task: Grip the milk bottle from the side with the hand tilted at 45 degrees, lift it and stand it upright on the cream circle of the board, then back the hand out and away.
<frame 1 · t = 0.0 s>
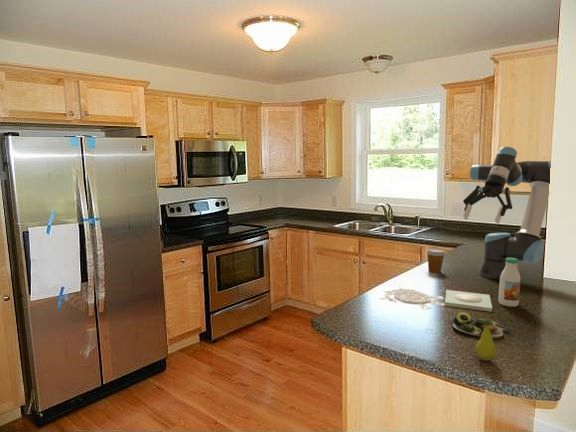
hand: (480, 220, 173), 36 cm above the worktop, tool tilted 35°, fingers open, 13 cm apart
fruit: (484, 360, 126), on the worktop
salad plate: (474, 329, 149), on the worktop
disposable coffee cup: (434, 271, 226), on the worktop
milk bottle: (508, 304, 175), on the worktop
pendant: (412, 299, 182), on the worktop
locating board: (467, 301, 177), on the worktop
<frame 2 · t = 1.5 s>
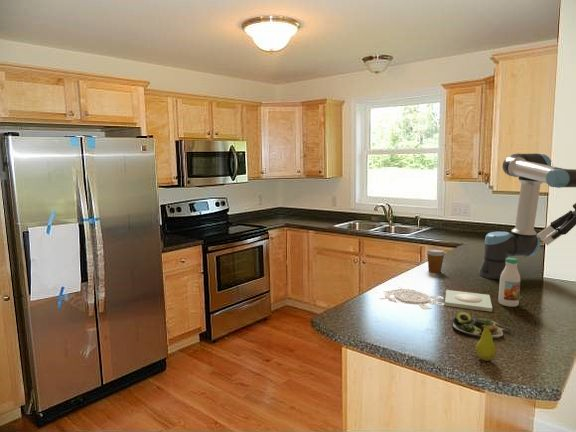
hand: (541, 240, 172), 28 cm above the worktop, tool tilted 45°, fingers open, 13 cm apart
nothing on the worktop moved.
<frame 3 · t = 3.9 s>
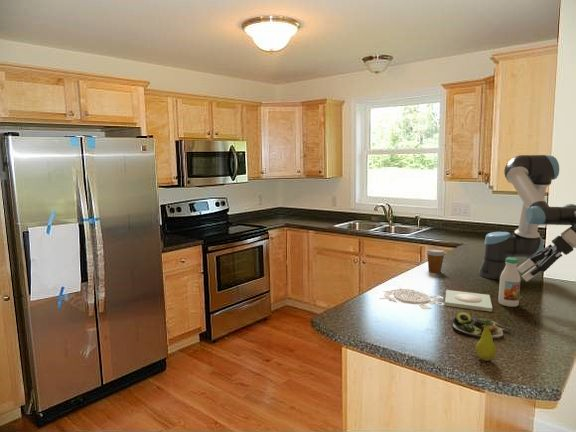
hand: (521, 274, 171), 14 cm above the worktop, tool tilted 45°, fingers open, 13 cm apart
nothing on the worktop moved.
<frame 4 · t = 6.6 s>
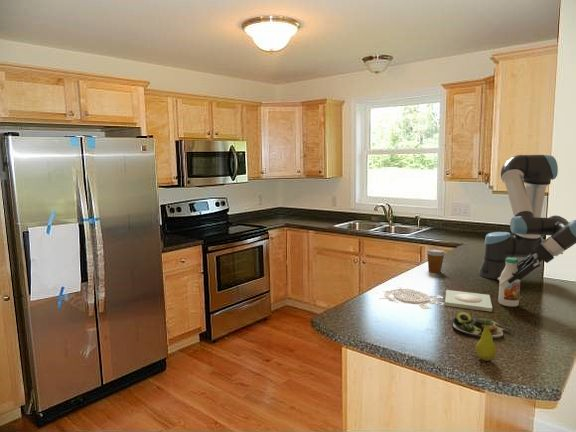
hand: (500, 283, 175), 9 cm above the worktop, tool tilted 45°, fingers closed on milk bottle, 7 cm apart
milk bottle: (508, 304, 175), on the worktop, touching gripper
everything else where it was.
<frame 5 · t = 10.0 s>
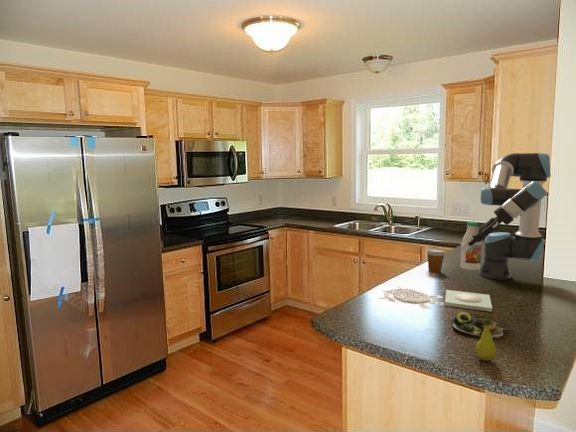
hand: (462, 247, 175), 24 cm above the worktop, tool tilted 45°, fingers closed on milk bottle, 7 cm apart
milk bottle: (470, 268, 175), point 15 cm above the worktop, touching gripper
everything else where it was.
when the fingers open (11 cm above the worktop, at t = 13.6 s): milk bottle stays where it is, resting on locating board.
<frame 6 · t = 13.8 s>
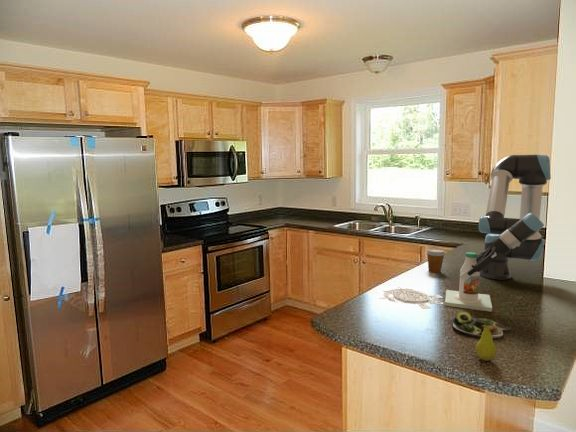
hand: (461, 275, 177), 11 cm above the worktop, tool tilted 45°, fingers open, 10 cm apart
milk bottle: (468, 298, 177), point 1 cm above the worktop, touching locating board
everything else where it was.
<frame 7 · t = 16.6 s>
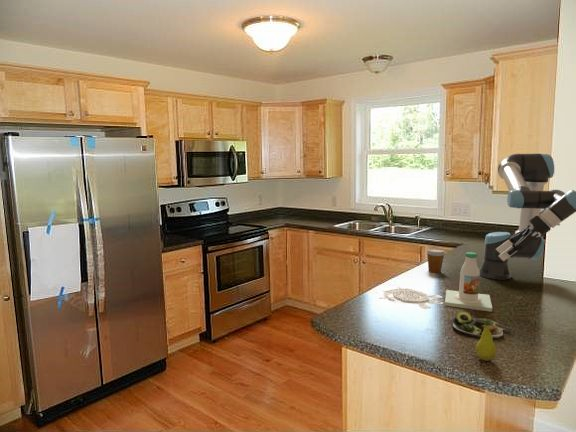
hand: (499, 255, 170), 22 cm above the worktop, tool tilted 45°, fingers open, 13 cm apart
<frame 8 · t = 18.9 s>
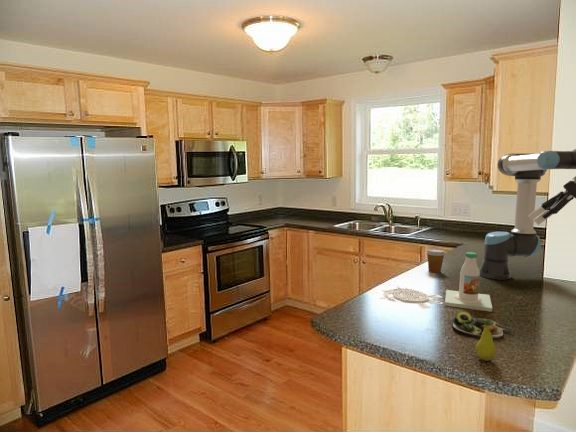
hand: (532, 220, 174), 36 cm above the worktop, tool tilted 45°, fingers open, 13 cm apart
at the end: milk bottle inside the target area on the locating board (0.2 cm from its centre), point 1.5 cm above the locating board's base; milk bottle tilted 0°; the gripper is holding nothing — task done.
